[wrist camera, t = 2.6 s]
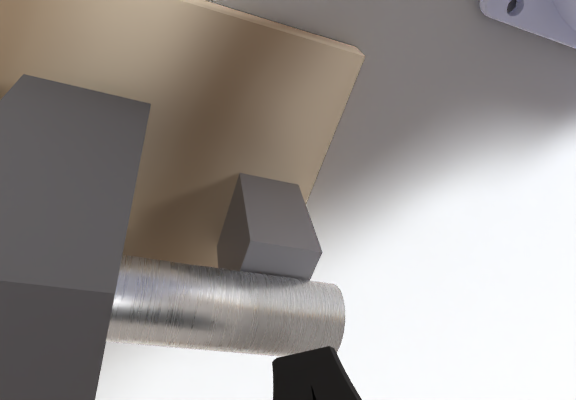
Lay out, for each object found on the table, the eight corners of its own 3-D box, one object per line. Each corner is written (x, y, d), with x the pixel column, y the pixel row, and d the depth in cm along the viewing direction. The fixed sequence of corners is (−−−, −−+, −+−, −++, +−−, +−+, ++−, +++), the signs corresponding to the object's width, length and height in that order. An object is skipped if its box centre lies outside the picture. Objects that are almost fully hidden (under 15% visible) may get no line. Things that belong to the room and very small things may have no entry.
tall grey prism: (151, 103, 12) (115, 293, 7) (113, 298, 16) (68, 537, 10) (23, 73, 12) (-146, 264, 6) (12, 287, 15) (-101, 542, 9)
